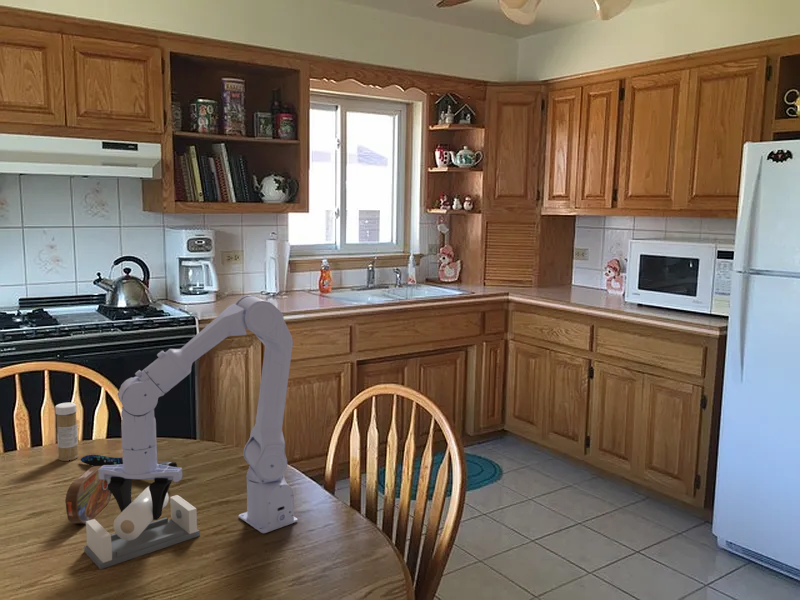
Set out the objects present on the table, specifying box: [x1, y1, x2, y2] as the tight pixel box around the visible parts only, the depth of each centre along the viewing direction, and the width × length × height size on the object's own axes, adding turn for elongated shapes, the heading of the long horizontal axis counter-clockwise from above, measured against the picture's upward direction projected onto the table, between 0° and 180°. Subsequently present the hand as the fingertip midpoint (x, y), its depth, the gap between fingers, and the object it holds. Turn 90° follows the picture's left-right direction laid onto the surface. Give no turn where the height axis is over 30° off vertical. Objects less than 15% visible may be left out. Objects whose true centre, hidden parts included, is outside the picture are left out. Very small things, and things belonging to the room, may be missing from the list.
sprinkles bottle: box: [54, 401, 80, 462], centre depth 163 cm, size 5×5×14 cm
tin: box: [64, 466, 113, 525], centre depth 134 cm, size 15×3×8 cm, turn 179°
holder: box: [83, 494, 201, 570], centre depth 123 cm, size 8×18×6 cm, turn 133°
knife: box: [80, 454, 178, 467], centre depth 154 cm, size 31×3×4 cm, turn 61°
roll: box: [112, 485, 170, 540], centre depth 122 cm, size 5×12×5 cm, turn 177°
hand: (142, 516), depth 122 cm, fingers closed on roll, 5 cm apart
